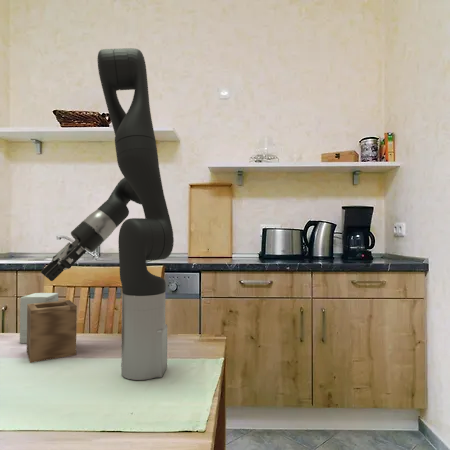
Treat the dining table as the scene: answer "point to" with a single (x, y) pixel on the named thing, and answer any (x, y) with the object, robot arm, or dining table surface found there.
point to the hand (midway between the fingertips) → (45, 276)
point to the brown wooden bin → (51, 330)
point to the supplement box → (23, 309)
